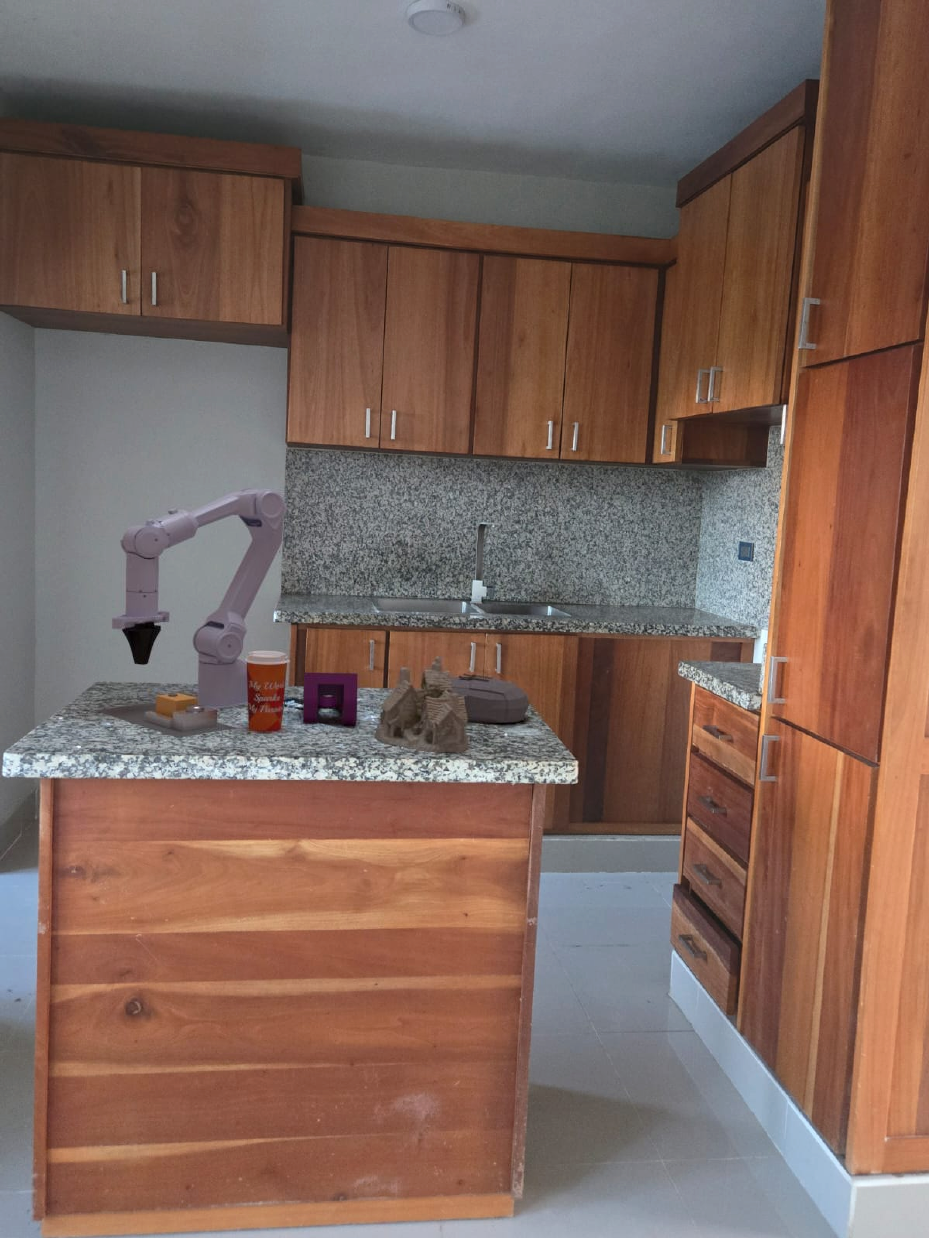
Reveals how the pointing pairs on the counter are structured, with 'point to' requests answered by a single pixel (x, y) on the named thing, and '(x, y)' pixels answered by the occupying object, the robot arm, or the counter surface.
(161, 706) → the block
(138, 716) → the mat
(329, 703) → the mounting bracket
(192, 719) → the sliding latch
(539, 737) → the counter surface
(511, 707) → the grey rounded bag
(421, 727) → the ceramic cottage
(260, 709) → the paper cup
